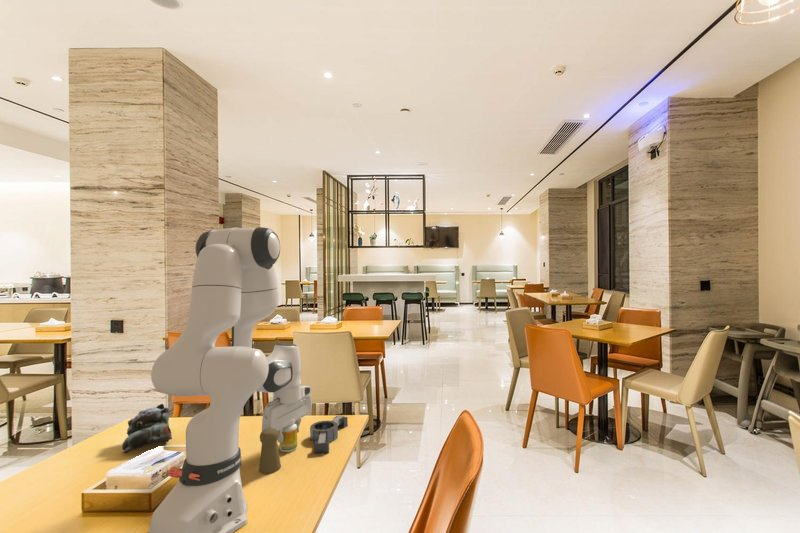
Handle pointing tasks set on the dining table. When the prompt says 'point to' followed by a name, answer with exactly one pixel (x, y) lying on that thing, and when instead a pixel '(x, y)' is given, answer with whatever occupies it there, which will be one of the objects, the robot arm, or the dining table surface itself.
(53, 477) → the dining table surface
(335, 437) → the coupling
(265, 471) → the olive pawn figure
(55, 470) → the dining table surface
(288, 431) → the supplement bottle
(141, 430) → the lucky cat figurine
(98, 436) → the dining table surface
